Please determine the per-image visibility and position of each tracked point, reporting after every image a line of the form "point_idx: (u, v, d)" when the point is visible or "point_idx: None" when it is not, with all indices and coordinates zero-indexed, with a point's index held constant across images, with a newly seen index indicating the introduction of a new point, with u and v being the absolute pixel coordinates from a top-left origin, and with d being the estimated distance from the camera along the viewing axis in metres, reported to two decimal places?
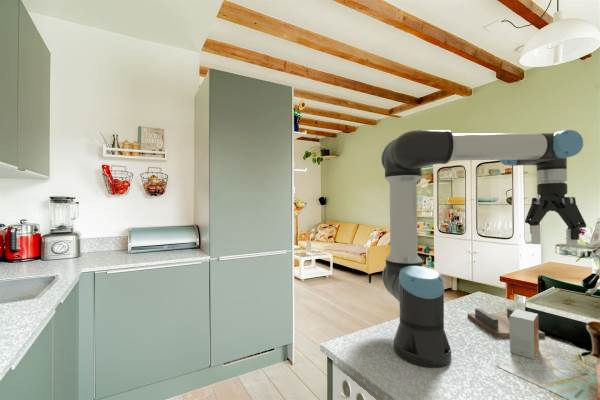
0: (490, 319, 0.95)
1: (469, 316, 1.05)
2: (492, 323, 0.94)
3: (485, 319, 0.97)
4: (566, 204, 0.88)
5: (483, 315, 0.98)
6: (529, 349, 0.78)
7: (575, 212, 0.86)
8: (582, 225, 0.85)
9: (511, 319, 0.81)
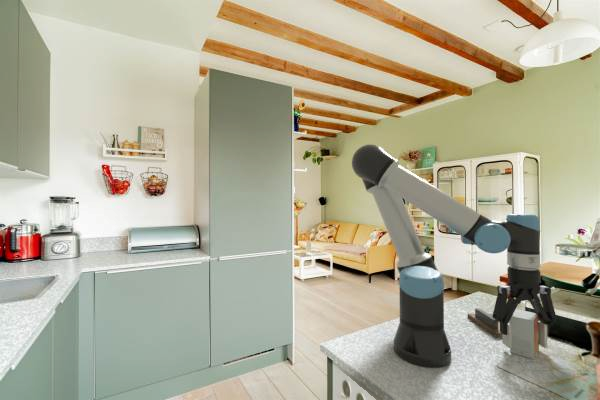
0: (490, 319, 0.95)
1: (469, 316, 1.05)
2: (492, 323, 0.94)
3: (485, 319, 0.97)
4: None
5: (483, 315, 0.98)
6: (529, 349, 0.78)
7: (498, 304, 0.82)
8: (495, 318, 0.82)
9: (511, 319, 0.81)
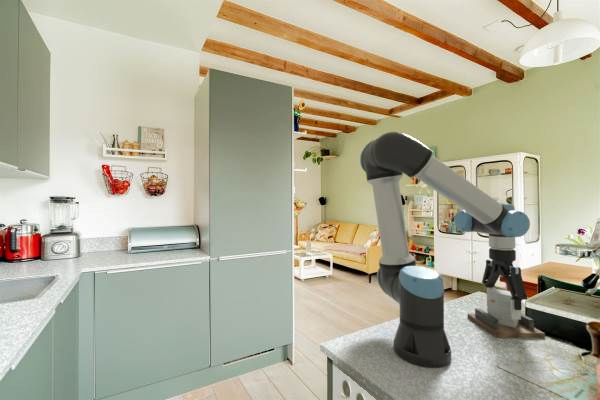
0: (490, 319, 0.95)
1: (469, 316, 1.05)
2: (492, 323, 0.94)
3: (485, 319, 0.97)
4: (512, 274, 0.92)
5: (483, 315, 0.98)
6: None
7: (519, 284, 0.90)
8: (523, 298, 0.89)
9: None
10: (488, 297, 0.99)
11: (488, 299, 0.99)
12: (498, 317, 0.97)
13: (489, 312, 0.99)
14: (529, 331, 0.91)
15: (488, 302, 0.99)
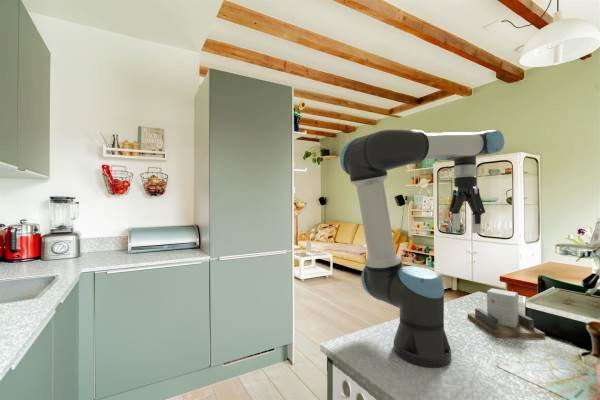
0: (490, 319, 0.95)
1: (469, 316, 1.05)
2: (492, 323, 0.94)
3: (485, 319, 0.97)
4: (472, 194, 1.05)
5: (483, 315, 0.98)
6: (518, 317, 0.96)
7: (478, 201, 1.03)
8: (482, 211, 1.01)
9: (514, 299, 0.94)
10: (488, 297, 0.99)
11: (488, 299, 0.99)
12: (498, 317, 0.97)
13: (489, 312, 0.99)
14: (529, 331, 0.91)
15: (488, 302, 0.99)
